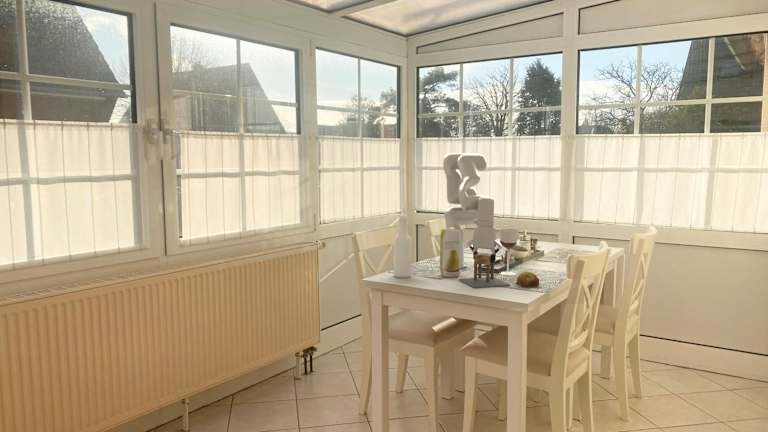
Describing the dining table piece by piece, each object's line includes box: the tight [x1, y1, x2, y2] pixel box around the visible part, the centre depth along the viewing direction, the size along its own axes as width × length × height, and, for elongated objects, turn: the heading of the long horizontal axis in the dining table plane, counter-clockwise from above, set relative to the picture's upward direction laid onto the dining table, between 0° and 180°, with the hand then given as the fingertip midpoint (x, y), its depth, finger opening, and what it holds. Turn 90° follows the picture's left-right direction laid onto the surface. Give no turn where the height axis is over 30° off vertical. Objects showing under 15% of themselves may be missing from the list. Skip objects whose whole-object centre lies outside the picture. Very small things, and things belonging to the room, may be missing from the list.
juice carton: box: [439, 227, 462, 278], centre depth 277 cm, size 9×8×24 cm
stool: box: [473, 252, 495, 282], centre depth 262 cm, size 7×7×12 cm
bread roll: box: [515, 271, 540, 288], centre depth 259 cm, size 10×10×8 cm
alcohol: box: [393, 214, 413, 279], centre depth 275 cm, size 9×9×30 cm
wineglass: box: [498, 228, 520, 276], centre depth 283 cm, size 9×10×22 cm
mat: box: [458, 276, 511, 289], centre depth 263 cm, size 17×18×1 cm
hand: (484, 261), depth 262 cm, fingers open, 7 cm apart
